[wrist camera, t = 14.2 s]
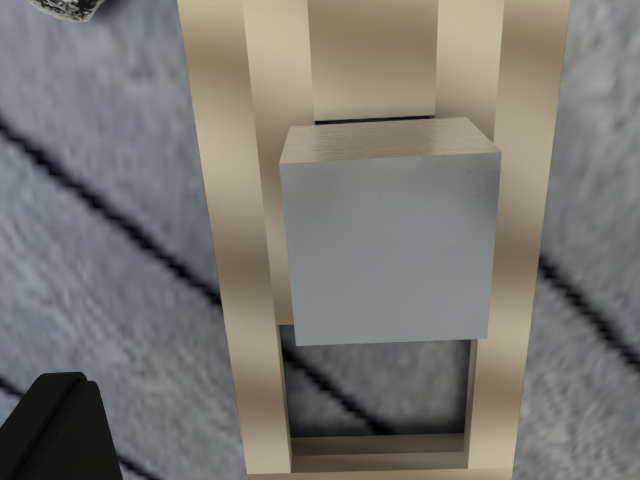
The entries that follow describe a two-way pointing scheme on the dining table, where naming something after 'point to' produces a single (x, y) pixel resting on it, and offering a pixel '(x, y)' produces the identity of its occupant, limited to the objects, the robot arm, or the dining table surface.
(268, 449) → the keyhole plate
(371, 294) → the keyhole peg
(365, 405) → the dining table surface
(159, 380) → the dining table surface
